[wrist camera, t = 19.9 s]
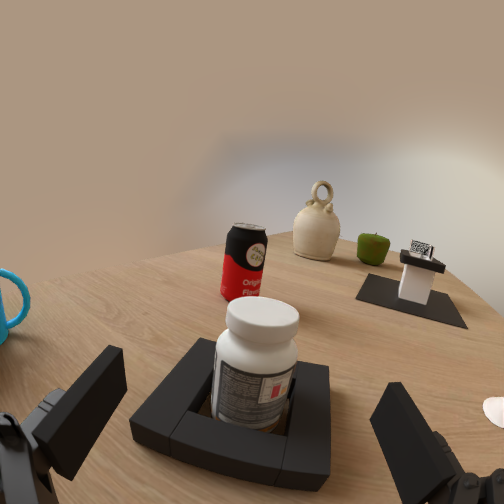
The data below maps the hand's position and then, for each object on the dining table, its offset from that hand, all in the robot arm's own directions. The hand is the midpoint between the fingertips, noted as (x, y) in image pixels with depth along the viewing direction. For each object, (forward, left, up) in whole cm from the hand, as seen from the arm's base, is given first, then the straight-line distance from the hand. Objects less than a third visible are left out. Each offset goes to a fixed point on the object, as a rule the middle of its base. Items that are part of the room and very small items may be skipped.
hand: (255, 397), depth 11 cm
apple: (+26, +88, -8) cm, 92 cm away
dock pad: (-1, +6, -8) cm, 10 cm away
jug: (+4, +80, -8) cm, 81 cm away
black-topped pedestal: (+30, +52, -8) cm, 61 cm away
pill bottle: (-1, +6, -8) cm, 10 cm away
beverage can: (-8, +31, -8) cm, 33 cm away
